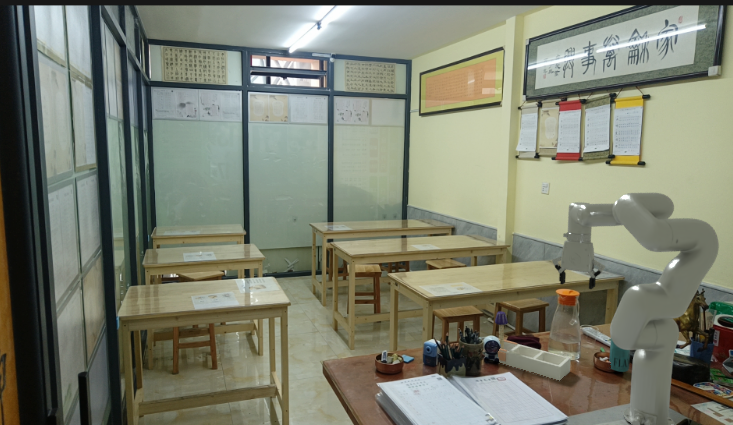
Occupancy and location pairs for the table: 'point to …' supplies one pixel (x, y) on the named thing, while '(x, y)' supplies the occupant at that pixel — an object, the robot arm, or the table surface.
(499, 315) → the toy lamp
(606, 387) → the table surface
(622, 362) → the beverage bottle
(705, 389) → the table surface
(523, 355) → the rack
